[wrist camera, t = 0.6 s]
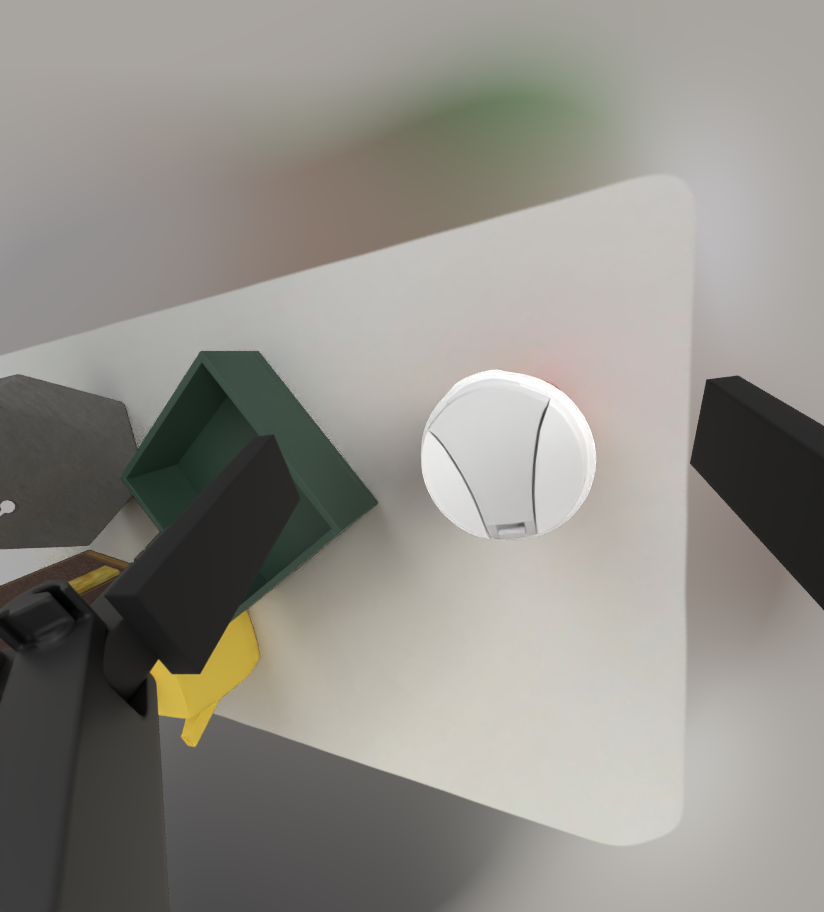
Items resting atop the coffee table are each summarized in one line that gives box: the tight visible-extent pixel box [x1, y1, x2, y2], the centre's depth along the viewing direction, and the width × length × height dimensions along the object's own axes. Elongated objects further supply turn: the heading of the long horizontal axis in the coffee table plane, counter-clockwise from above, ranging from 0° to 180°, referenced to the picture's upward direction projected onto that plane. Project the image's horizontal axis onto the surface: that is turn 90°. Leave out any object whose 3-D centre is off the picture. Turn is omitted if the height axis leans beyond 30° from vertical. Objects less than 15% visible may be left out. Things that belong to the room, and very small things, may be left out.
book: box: [0, 550, 130, 650], centre depth 47 cm, size 22×8×25 cm, turn 88°
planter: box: [0, 374, 137, 549], centre depth 44 cm, size 17×8×21 cm
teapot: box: [150, 610, 260, 747], centre depth 47 cm, size 20×12×12 cm, turn 16°
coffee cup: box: [421, 369, 596, 540], centre depth 24 cm, size 8×8×15 cm
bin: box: [120, 351, 378, 622], centre depth 40 cm, size 19×19×7 cm
